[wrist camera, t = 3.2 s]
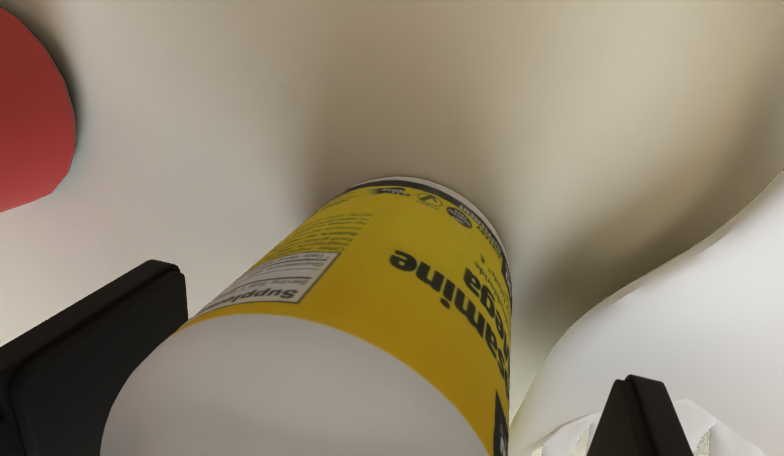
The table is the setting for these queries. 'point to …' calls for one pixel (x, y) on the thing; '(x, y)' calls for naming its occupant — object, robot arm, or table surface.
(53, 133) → the beer can
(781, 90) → the table surface
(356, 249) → the pill bottle
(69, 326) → the robot arm
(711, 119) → the table surface
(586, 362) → the white plastic utensil
